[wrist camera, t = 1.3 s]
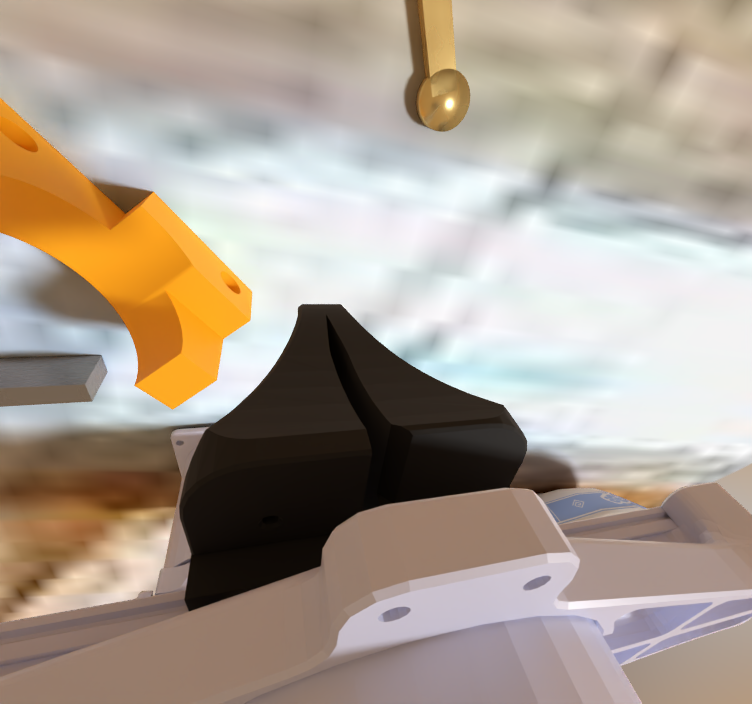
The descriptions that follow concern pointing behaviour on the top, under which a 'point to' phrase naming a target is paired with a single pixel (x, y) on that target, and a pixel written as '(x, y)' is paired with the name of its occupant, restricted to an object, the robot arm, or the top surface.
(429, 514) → the robot arm
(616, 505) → the ramen bowl
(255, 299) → the top surface
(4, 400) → the hitch bracket
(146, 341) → the pipe clamp
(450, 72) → the brass spoon
